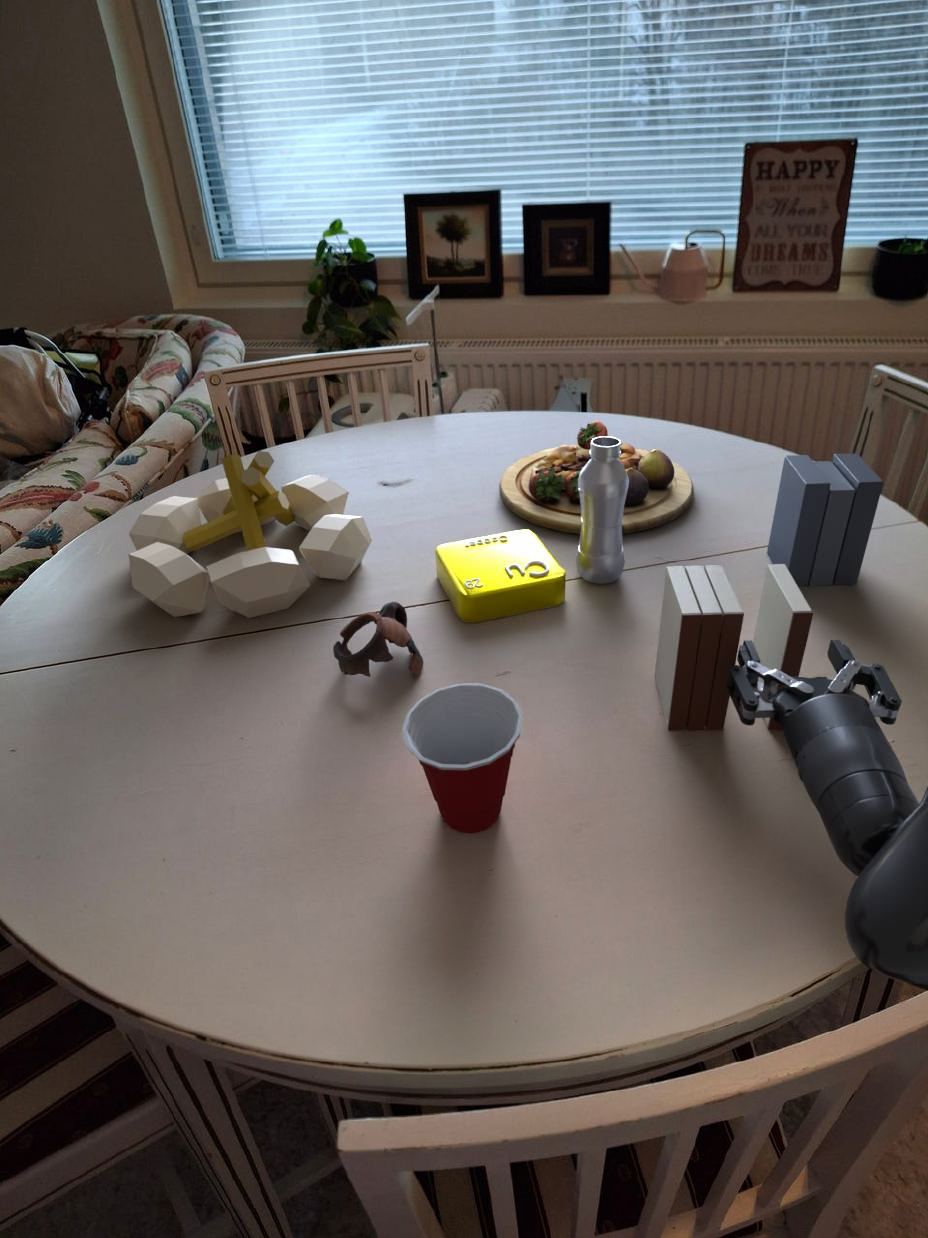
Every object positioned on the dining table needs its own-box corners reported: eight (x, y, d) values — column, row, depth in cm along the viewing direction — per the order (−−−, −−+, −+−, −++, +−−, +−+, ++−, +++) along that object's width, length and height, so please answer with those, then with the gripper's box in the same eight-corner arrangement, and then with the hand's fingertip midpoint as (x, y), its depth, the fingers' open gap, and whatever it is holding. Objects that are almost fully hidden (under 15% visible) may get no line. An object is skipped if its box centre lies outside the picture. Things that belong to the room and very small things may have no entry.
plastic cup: (396, 795, 80) (383, 703, 73) (493, 759, 84) (489, 668, 77) (439, 874, 72) (429, 779, 65) (545, 831, 75) (545, 736, 69)
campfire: (397, 588, 112) (384, 476, 103) (146, 653, 103) (106, 536, 93) (332, 493, 139) (317, 397, 130) (129, 537, 130) (96, 436, 120)
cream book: (762, 675, 93) (785, 563, 84) (786, 730, 85) (813, 612, 77) (746, 675, 93) (767, 564, 84) (768, 730, 85) (794, 613, 77)
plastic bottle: (618, 592, 109) (628, 453, 98) (569, 585, 111) (573, 448, 100) (627, 569, 114) (637, 434, 102) (580, 562, 116) (585, 430, 105)
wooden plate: (531, 447, 152) (531, 405, 147) (705, 465, 141) (710, 420, 137) (471, 523, 127) (469, 475, 123) (675, 551, 117) (681, 499, 112)
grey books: (833, 551, 115) (857, 452, 106) (856, 584, 107) (883, 481, 99) (766, 553, 115) (784, 455, 107) (785, 586, 108) (806, 483, 100)
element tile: (531, 552, 119) (531, 523, 116) (570, 604, 107) (571, 573, 104) (433, 571, 116) (431, 541, 113) (462, 626, 104) (460, 595, 101)
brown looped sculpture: (420, 697, 93) (378, 656, 88) (358, 712, 98) (315, 673, 93) (440, 619, 101) (402, 577, 96) (382, 636, 106) (343, 597, 101)
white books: (705, 676, 93) (722, 564, 85) (723, 730, 85) (744, 614, 77) (654, 677, 93) (666, 566, 85) (668, 731, 86) (682, 615, 77)
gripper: (944, 726, 65) (870, 614, 78) (764, 728, 66) (721, 617, 79) (919, 792, 69) (853, 675, 82) (751, 792, 70) (712, 676, 83)
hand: (788, 646), depth 81 cm, fingers open, 8 cm apart
